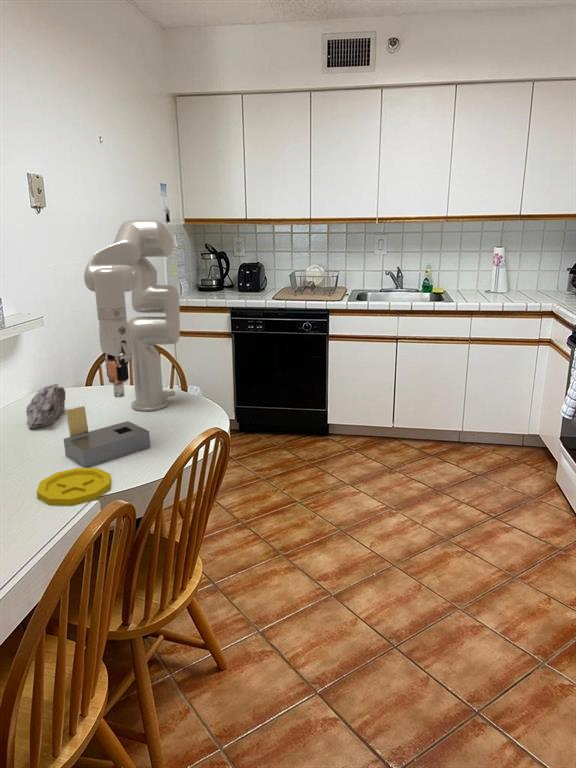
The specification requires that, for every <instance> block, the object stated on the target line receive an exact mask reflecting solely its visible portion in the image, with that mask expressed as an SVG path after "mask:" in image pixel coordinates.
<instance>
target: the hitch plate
mask: <svg viewBox="0 0 576 768" xmlns="http://www.w3.org/2000/svg"><path fill="white" fill-rule="evenodd" d="M150 436H151V435H150V430H148V429H146V428H143V427H142V426H139V425H138V424H135V423H133V422H131V421H129V420H127V421H123V422H120V423H117V424H112V425H109V426H105V427H102V428H98V429H94V430H91V431H89V432H88V433H86V434H82V435H78V436H75V437H70V436H69V437H66V438H63V446H64V453H65V456H66V457H68V458H69V459H70V458H71V460H72V461H73V460H74V461H73V462H75V463H77V464H78V465H79V466H81V468H91V467H93V466H96V465H99V464H102V463H105V462H109V461H112V460H116V459H119V458H122V457H125V456H128V455H131V454H135V453H137V452H141V451H143V450H146V449H151V438H150Z"/></svg>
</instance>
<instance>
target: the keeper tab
mask: <svg viewBox="0 0 576 768" xmlns="http://www.w3.org/2000/svg"><path fill="white" fill-rule="evenodd" d="M85 407H86V406H84V405H82V406H79V407H73V408H69V409H66V410H65V412H66V419H67V425H68V426H67V427H68V431H69V437H75V436H78V435H82V434H86V433H88V432H90V431H89V425H88V420H87V419H88V418H87V412H86V408H85Z"/></svg>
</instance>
